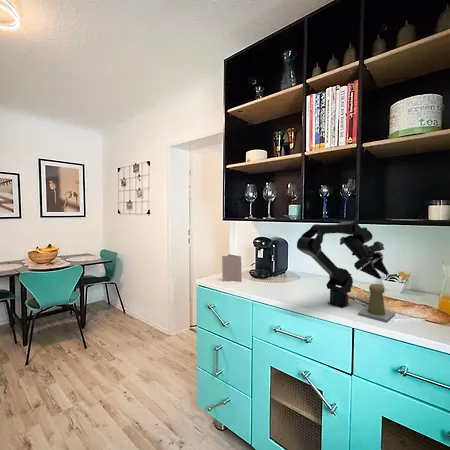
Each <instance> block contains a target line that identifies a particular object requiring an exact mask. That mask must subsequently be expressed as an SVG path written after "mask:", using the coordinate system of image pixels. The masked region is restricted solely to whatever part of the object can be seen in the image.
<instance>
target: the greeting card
mask: <svg viewBox="0 0 450 450" xmlns="http://www.w3.org/2000/svg"><path fill="white" fill-rule="evenodd" d="M221 260H222V261H221V265H222V266H221V267H222V271H221V272H222V276H221V277H222V282H231V281H239V282H238V283H242V277H243V276H242V256H240V255H235V254H230V253H228V254H227V255H221Z"/></svg>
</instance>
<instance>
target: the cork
mask: <svg viewBox="0 0 450 450" xmlns="http://www.w3.org/2000/svg"><path fill="white" fill-rule="evenodd" d="M368 290H369V293H370V295H369V300H368V305H367V306H368V312H369V313H371V314H374V315H385V310H386V309H385V301H384V293H385V286H383V285H381V284H378V283H372V284H370V285H369V287H368Z"/></svg>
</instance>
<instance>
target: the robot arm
mask: <svg viewBox="0 0 450 450" xmlns="http://www.w3.org/2000/svg"><path fill="white" fill-rule="evenodd" d="M327 234H341V235H348V236H342V237H340V238H339V245H341V246H342V245H345V246H346V248H348V249H349V250H350V252H351V255H352V256H355V257H356V258H357V261H355V262H354V265H353V267H354V268H355V269H356V270H357V271H358V270H359V271H361V272H363V273H365V274H368V275H369V276H372V277H374V278H376V279H378V280H381V279H382V276H381V275H380V273H382V274H384V275H386V276H388V275H389V274H390V272H389V271H388V269H387V268H386V266H385V264H384V254H383V253H382V252H381V251H384V250H385V247H384V246H385V244H384V243H382V242H380V241H373V244H372V245H368V244H367V243H368V242H370V241H371V240H373V234H372V232H371V231H370V230H368V228H367V227H366V226H365V227H364V226H363V227H361V226H360V224H359V222H357V221H345V220H344V221H340V222H338V223H336V224H319V223H317V224H315V223H314V224H313V225H311V227H310V228H309V229H307V230H306V231H305V232H303V233H302V235H301V236H300V237H299V238H298V240H297V242H296V249H297V250H298V251H300V252H301V253H302V254H305V255H308V256H309V257H311V258H312V259H313V260H314V261H315V262H316V263H317V265H319V266H320V267H321V268H322V269H323V270H324V272H326V273H327V274H328V275H329V280H328V281H327V283H326V289H329V302H327V303H328V305H330V306H335V307H339V308H341V309H342V308H346V306H348V305H349V294H348V293H351V291H352V287H353V285H354V280H353V276H352V274H351V273H350V272H349V271H348V270H347V269H346V268H341V267H338V266H337V265H336V264H335V263H334V262H333V261H332V260H331V259H330V258H329V257H328V255H326V253H324V252H323V250H322V243H323V242H324V236H325V235H327ZM315 236H316V237H315ZM314 237H315V238H314ZM378 271H379V272H380V273H379V272H378Z"/></svg>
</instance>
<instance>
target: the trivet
mask: <svg viewBox="0 0 450 450" xmlns="http://www.w3.org/2000/svg"><path fill="white" fill-rule="evenodd" d="M368 306H369V305H367V306H366V307H364V308H362V309H361V310H360V311H358V314H357V315H358V316H360V317H363V318H364V317H365V318H368V319H372V320H376V321H380V322H383V323H388V322H389V321H390V320H391V319H393V317H395V316H396V312H395V311H391V310H386V309H385V315H374V314H371V313H369V312H368Z"/></svg>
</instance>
